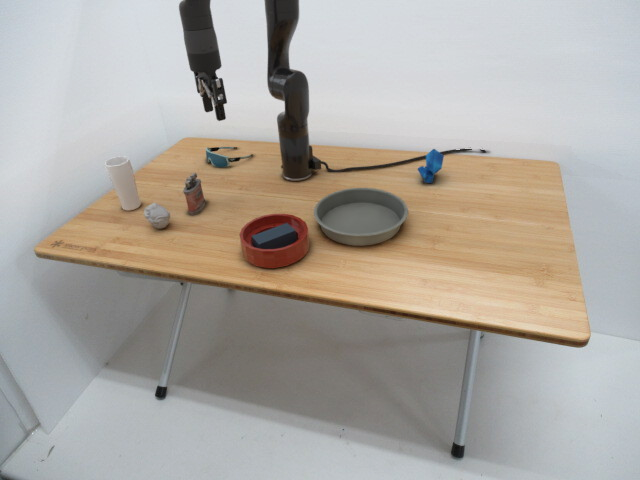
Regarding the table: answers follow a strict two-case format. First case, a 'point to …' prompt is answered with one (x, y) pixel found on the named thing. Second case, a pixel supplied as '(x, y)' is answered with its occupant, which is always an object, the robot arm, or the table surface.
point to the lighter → (194, 194)
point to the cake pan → (360, 215)
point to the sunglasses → (221, 157)
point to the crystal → (431, 166)
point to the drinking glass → (123, 182)
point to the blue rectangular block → (275, 237)
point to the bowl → (279, 255)
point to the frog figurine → (157, 215)
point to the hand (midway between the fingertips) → (215, 115)
